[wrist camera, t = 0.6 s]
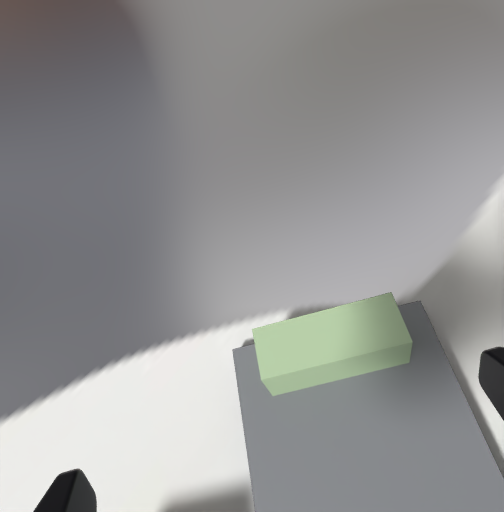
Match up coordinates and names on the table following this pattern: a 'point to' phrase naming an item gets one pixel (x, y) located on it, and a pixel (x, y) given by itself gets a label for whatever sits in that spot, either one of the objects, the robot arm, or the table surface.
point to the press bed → (360, 416)
